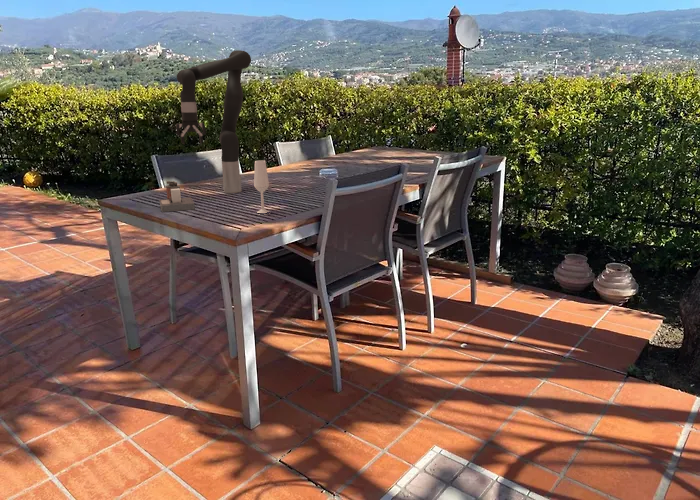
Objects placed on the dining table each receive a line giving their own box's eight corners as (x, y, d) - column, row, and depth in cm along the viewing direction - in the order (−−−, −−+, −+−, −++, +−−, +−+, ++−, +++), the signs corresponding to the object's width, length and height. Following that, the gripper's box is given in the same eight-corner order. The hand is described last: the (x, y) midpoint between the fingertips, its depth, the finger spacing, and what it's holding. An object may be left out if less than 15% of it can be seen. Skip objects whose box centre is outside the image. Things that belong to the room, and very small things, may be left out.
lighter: (182, 200, 264) (180, 181, 261) (178, 201, 261) (176, 182, 258) (169, 199, 266) (167, 180, 263) (165, 200, 263) (163, 181, 260)
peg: (181, 206, 250) (179, 188, 247) (182, 208, 246) (180, 189, 244) (172, 207, 248) (170, 188, 246) (173, 208, 245) (171, 190, 242)
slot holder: (191, 203, 257) (190, 196, 256) (194, 209, 244) (194, 202, 243) (160, 205, 251) (159, 199, 250) (161, 212, 238) (161, 205, 237)
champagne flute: (272, 211, 239) (269, 160, 231) (267, 214, 232) (264, 162, 225) (259, 210, 240) (256, 159, 233) (253, 214, 234) (250, 161, 227)
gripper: (202, 110, 263) (205, 142, 268) (173, 111, 258) (177, 143, 263) (204, 111, 257) (207, 144, 262) (175, 111, 251) (178, 145, 256)
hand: (192, 143), depth 262 cm, fingers open, 8 cm apart
